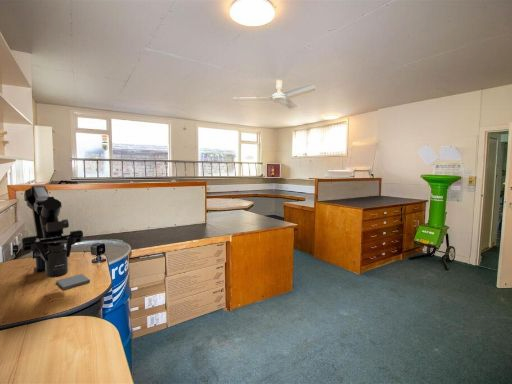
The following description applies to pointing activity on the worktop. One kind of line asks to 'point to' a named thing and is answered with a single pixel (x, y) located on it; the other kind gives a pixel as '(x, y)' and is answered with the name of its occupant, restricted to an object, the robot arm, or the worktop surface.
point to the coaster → (72, 281)
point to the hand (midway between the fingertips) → (57, 258)
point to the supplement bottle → (56, 260)
